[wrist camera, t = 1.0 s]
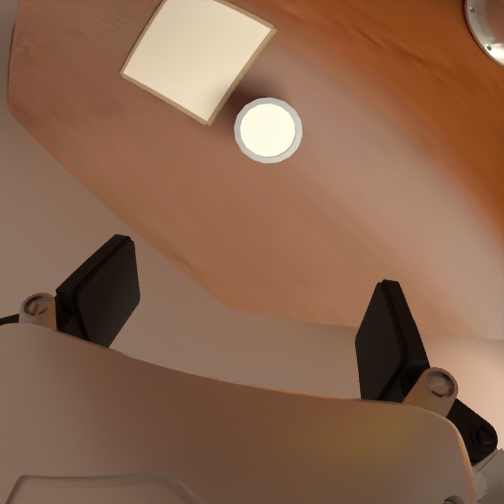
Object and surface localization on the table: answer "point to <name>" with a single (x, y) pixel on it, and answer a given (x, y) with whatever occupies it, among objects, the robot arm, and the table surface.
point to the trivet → (196, 54)
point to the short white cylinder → (268, 130)
